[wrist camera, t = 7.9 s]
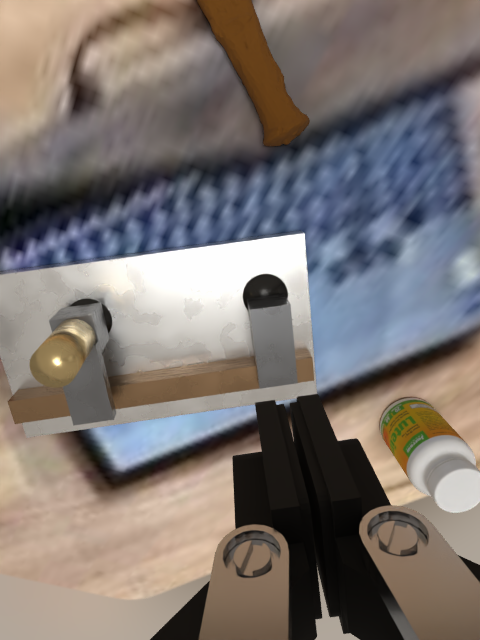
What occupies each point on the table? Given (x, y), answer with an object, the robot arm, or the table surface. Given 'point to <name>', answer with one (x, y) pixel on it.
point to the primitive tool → (255, 68)
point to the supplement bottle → (432, 454)
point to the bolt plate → (169, 329)
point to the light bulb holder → (77, 362)
